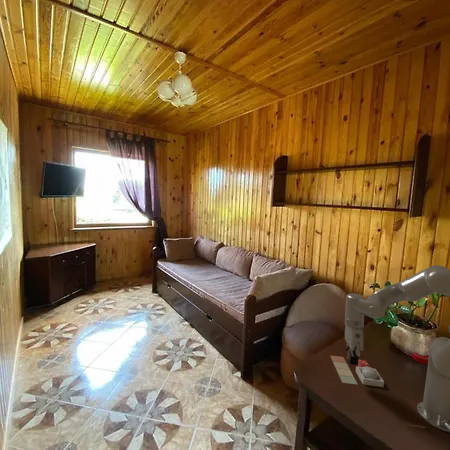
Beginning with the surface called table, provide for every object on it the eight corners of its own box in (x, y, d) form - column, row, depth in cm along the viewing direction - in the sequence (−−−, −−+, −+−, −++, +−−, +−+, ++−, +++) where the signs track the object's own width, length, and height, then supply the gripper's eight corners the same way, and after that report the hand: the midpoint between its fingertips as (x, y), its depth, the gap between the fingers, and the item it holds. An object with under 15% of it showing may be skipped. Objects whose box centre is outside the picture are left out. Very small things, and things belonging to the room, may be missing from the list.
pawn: (358, 365, 110) (359, 351, 110) (348, 364, 111) (349, 350, 110) (355, 359, 115) (355, 345, 114) (345, 358, 115) (345, 344, 115)
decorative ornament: (409, 358, 133) (409, 353, 133) (412, 351, 140) (413, 346, 140) (432, 367, 126) (433, 361, 126) (434, 359, 133) (435, 354, 133)
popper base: (384, 388, 110) (385, 379, 110) (362, 385, 112) (363, 376, 111) (369, 366, 125) (370, 358, 125) (350, 364, 126) (351, 356, 126)
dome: (379, 384, 112) (379, 376, 112) (364, 382, 113) (365, 374, 112) (373, 375, 118) (373, 367, 117) (359, 373, 119) (360, 365, 118)
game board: (358, 386, 111) (358, 384, 111) (341, 384, 112) (341, 382, 112) (343, 358, 131) (343, 356, 131) (329, 356, 132) (329, 355, 132)
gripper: (371, 332, 102) (368, 374, 104) (355, 314, 119) (353, 350, 121) (352, 330, 103) (349, 372, 105) (339, 313, 120) (337, 349, 122)
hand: (351, 360), depth 113 cm, fingers closed on pawn, 4 cm apart
